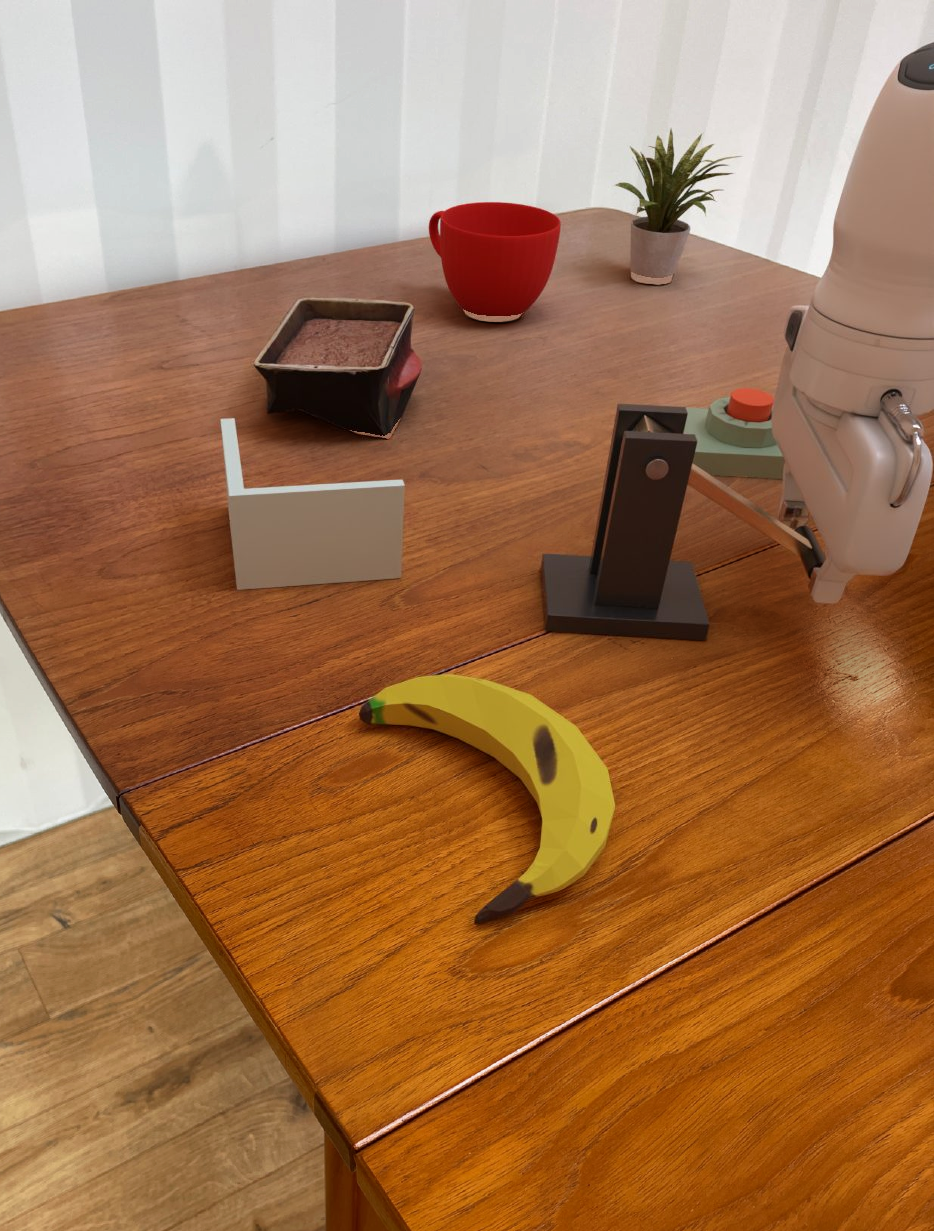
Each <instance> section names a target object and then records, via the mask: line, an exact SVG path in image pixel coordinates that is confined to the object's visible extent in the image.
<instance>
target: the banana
mask: <svg viewBox="0 0 934 1231" xmlns="http://www.w3.org/2000/svg"><path fill="white" fill-rule="evenodd" d="M358 716H359V721H362V722H363V723H364V724H366V725H368V726H370V725H373V724H378V725H379V724H380V725H395V726H396V725H398V726H411V727H418V728H422V729H423V728H424V729H431V730H434V731H437V732H439V733H443V734H445V735H448V736H450V737H452V738H456V739H458V740H460V741H462V742H464V743H466V744H468V745H470V746H471V747H474V748H475V749H478V750H479V751H482V752H484V753H485V754H487V755H489V756H491V757H493V758H494V759H496V760H497V761H498V762H499V763H500V764H502V765H503V766H504V767H505V768H507V769H508V771H510V772H511V773H512V774H514V775H515V776H516V777H517V778H519V779H520V781H521V782H522V783H523V784H524V786H525V788H526V789H527V790H528V792H529V794H530V795H531V796H532V798H533V799H534V801H535V802H536V805H537V806H538V811H539V812H540V817H541V821H542V822H541V831H540V832H541V833H540V834H541V835H540V843H539V844H540V845H539V849H538V851H537V853H536V856H535V858H534V860H533V861H532V862H531V864H530V866H529V867H528V868H527V870H526V871H525V872H524V873H523V874H522V875H521V876H520V877H519V878H517V879H516V880H515V881H513V882H512V883H511V884H510V885H509V886H507V887H506V888H504V889H503V890H502V891H501V892H499V893H498V894H497V895H496V896H495V897H493V898H492V899H491V900H490V901H488V903H486V904H485V905H484V906H483V907H482V908H481V909H480V910H479V911H478V912H477V913H476V914H475V917H474V921H473V923H474V925H477V926H480V925H483V924H486V923H488V922H494V921H498V920H500V919H503V918H505V917H508V916H510V915H512V914H514V913H515V912H516V911H518V910H519V909H521V907H523V906H524V905H525V904H526V903H527V902H528V901H529V900H530V899H533V898H538V897H544V896H547V895H551V894H554V893H557V892H560V891H562V890H564V889H566V888H567V887H569V886H571V885H572V884H573V883H575V882H577V881H578V880H580V879H581V878H583V877H584V876H585V875H586V873H587V872H588V871H589V870H590V868H591V867H592V866H593V865H594V863H595V862H596V860H597V859H598V858H599V856H600V855H601V854H602V852H603V851H604V850H605V848H606V845H607V842H608V837H609V833H610V830H611V826H612V824H613V823H612V822H613V819H614V814H615V809H616V803H615V802H616V801H615V798H614V793H613V788H612V784H611V778H610V774H609V769H608V767H607V766H606V764H605V763H604V762H603V761H602V759H601V757H600V756H599V755H598V753H597V752H596V751H595V749H594V748H593V746H592V745H591V744H590V742H589V741H588V740H587V739H586V737H585V736H584V734H583V733H582V732H581V729H579V728H578V726H577V725H575V724H574V723H572V722H571V721H570V720H569V719H567V718H565V717H564V716H562V715H561V714H559V713H558V712H557V711H555V710H554V709H552V708H551V707H550V706H548V705H546V704H545V703H544V702H542V701H541V700H539V699H537V698H536V697H535V696H533V695H532V694H530V693H527V692H524V691H521V690H519V689H515V688H512V687H509V686H506V685H504V684H502V683H497V682H495V681H491V680H490V679H489V680H488V679H484V678H477V677H471V676H465V675H461V674H460V675H459V674H453V673H445V674H436V675H435V674H434V675H425V676H424V675H423V676H416V677H414V678H411V679H407V680H405V681H402V682H398V683H396V684H393V685H389V686H387V687H384V688H383V689H381V690H380V691H379V692H378V693H376V694H375V695H374V696H372V697H371V698H370V699H369V700H367V701H366V702H365V703H364V704H363V705H361V707H360V709H359V711H358Z"/></svg>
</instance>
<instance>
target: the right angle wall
mask: <svg viewBox="0 0 934 1231" xmlns="http://www.w3.org/2000/svg"><path fill="white" fill-rule="evenodd" d="M220 429H221V441H222V453H223V466H224V476H225V488H226V499H227V500H226V501H227V511H228V519H229V520H230V521H229V527H230V528H229V530H230V538H231V548H232V556H233V558H232V559H233V565H234V574H235V575H234V576H235V584H236V590H237V591H242V590H244V591H245V590H257V589H270V588H283V587H284V588H285V587H297V586H312V585H325V584H337V583H338V584H339V583H352V582H366V581H368V582H369V581H380V580H382V581H383V580H393V579H394V580H395V579H402V573H403V572H402V569H403V568H402V567H403V566H402V564H403V546H404V544H403V541H404V516H405V494H406V493H405V492H406V485H405V481H404V480H403V479H388V480H387V479H386V480H385V479H384V480H370V481H369V480H368V481H353V482H352V481H351V482H337V483H336V482H335V483H321V484H303V485H286V486H285V485H283V486H267V487H252V488H251V487H250V488H245V486H244V479H243V471H242V463H241V456H240V449H239V448H240V447H239V442H238V435H237V425H236V418H234V417H232V418H220Z"/></svg>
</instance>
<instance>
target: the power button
mask: <svg viewBox="0 0 934 1231" xmlns="http://www.w3.org/2000/svg"><path fill="white" fill-rule="evenodd" d="M729 397H730V400H729V404H728V408H727V414H728V415H729V416H731V417H732V418H734V419H738V420H742V421H745V422H758V423H761V422H765V421H768V420H769V417H770V413H771V410H772V406H773V403H774V398H775V397H773V395H772V394H770V393H768V392H766V391H763V390H761V389H756V388H748V387H747V388H745V387H744V388H738V389H735V390H733V391H732V392H731V394H730V396H729Z"/></svg>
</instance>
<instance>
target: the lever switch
mask: <svg viewBox="0 0 934 1231" xmlns="http://www.w3.org/2000/svg"><path fill="white" fill-rule="evenodd" d="M632 431H638V432H657V433H671V432H669V431H668V430H666V429H665V428H663V427H662V426H660V425H659V424H657V423H656V422H654V421H653V420H651V419H650V418H648V417H647V416H645V415H644V417H643V418H642V419H641V420H640V421H639V423H638V424H637V425H636V426H635V427H634V429H633V430H632ZM621 446H622V443H621ZM687 486H689V487H691V488H693V489H694V490H695V491H697V492H699V493H700V494H702V495H703V496H705V497H706V498H708V499H710V500H711V501H713V502H714V503H716V504H717V505H719V506H720V507H721V508H723V509H725V510H726V511H728V512H729V513H731V514H732V515H734V516H736V518H739V519H740V520H742V521H743V522H745V523H746V524H748V525H749V526H751V527H753V528H754V529H755V530H757V531H758V532H760V533H761V534H763V535H765V536H766V537H768V538H769V539H771V541H774V542H775V543H776V544H779V545H780V546H781V547H783V548H784V549H785V550H788V551H789V552H791V553H792V554H793V555H794V556H797V557H798V558H799V559H800V561H801V563H802V566H803V568H804V570H805V572H806V575H807V577H808V579H809V580H811V574H812V572H813V569H814V568H821V566H822V565H823V563H824V562H825V560H826V558H827V557H825V555H824V551H823V549H822V547H821V545H820V544H819V541H818V538H817V536H816V535H815V533H814V530H813V529H812V528H811V526H808V525H806V526H799V527H797V528H796V529H793V528H789V527H788V526H786V525H785V524H783V523H782V522H780V520H779V519H778V518H776V517H775V516H773V515H772V514H770V513H768V512H767V511H765V510H764V509H762V508H761V507H759V506H758V505H757V504H755V503H753V502H752V501H750V500H748V499H747V498H746V497H744V496H743V495H741V494H740V493H739V492H737V491H736V490H734V489H732V488H730V487H729V486H728V485H726V484H724V483H723V482H722V481H720V480H719V479H717V478H716V477H715V476H711V475H709V474H708V473H706V472H705V471H703V470H702V469H700V468H699V467H697V466H696V465H694V464H693V463H692V468H691V472H690V476H689V480H688V485H687Z"/></svg>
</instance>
